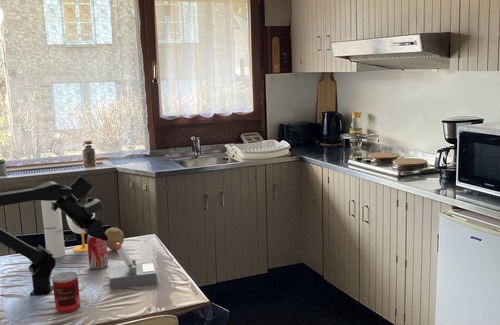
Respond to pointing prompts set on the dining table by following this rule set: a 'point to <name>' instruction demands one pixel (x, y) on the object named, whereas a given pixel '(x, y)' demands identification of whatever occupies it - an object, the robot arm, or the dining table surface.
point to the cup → (79, 231)
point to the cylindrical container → (53, 229)
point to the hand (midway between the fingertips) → (102, 236)
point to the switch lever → (124, 255)
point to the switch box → (133, 275)
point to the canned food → (66, 292)
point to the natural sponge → (114, 237)
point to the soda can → (97, 252)
